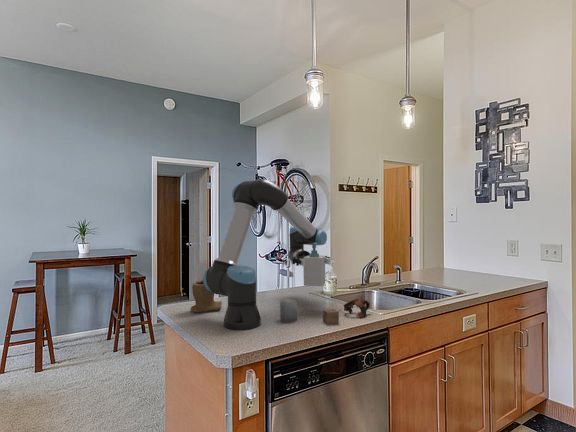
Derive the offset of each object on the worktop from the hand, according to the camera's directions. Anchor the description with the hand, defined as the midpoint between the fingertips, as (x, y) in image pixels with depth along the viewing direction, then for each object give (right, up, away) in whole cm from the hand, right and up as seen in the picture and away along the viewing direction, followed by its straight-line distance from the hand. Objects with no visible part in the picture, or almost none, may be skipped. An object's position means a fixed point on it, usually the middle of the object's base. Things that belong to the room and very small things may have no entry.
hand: (317, 262), depth 162 cm
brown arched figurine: (+17, -23, -4) cm, 29 cm away
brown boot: (-51, -24, +7) cm, 57 cm away
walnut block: (+4, -23, -15) cm, 28 cm away
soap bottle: (-1, -11, +4) cm, 11 cm away
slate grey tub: (-13, -23, -10) cm, 28 cm away
